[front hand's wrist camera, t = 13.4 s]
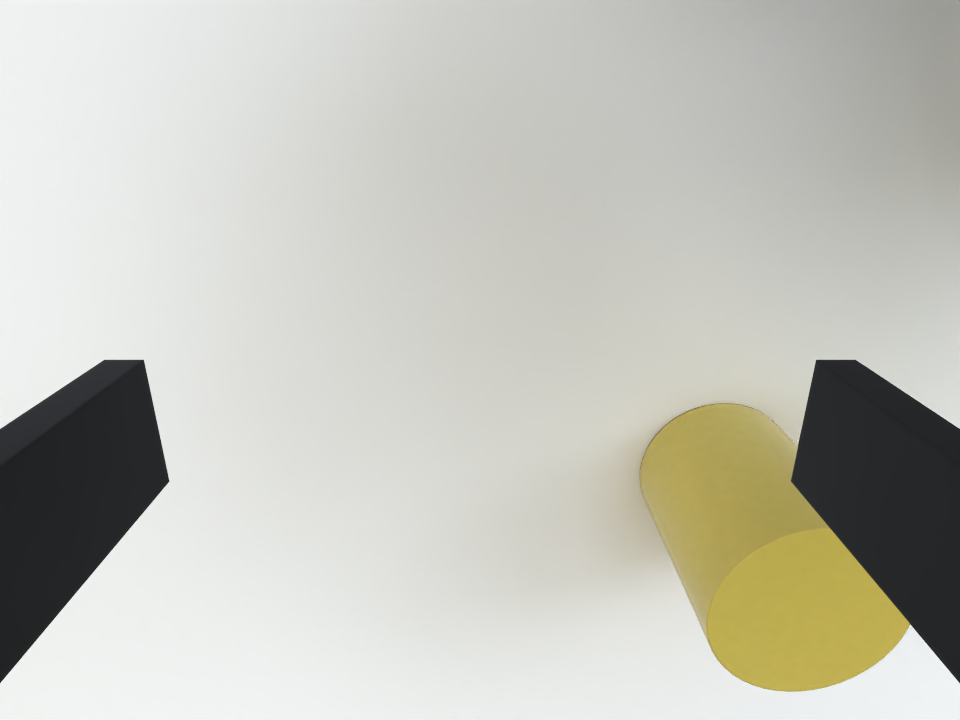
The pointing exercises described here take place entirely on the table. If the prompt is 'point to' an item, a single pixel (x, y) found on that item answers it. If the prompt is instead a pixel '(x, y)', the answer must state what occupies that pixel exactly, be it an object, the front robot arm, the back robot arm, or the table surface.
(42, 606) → the front robot arm
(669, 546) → the tin
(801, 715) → the table surface
